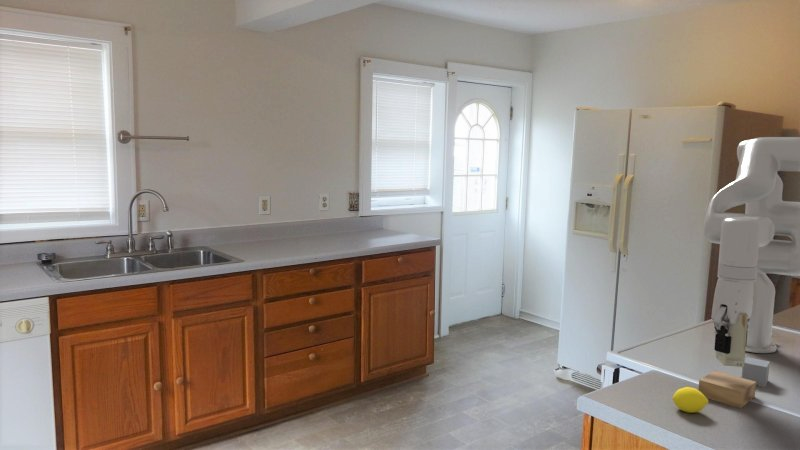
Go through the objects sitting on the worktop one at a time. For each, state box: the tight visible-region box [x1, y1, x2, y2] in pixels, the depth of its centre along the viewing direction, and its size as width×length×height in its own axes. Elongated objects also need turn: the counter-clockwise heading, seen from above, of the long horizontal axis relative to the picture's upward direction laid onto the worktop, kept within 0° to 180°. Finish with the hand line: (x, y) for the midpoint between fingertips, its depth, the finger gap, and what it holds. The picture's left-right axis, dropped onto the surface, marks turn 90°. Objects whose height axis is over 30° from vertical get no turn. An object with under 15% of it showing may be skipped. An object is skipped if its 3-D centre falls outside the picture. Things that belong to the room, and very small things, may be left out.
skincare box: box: [715, 313, 748, 368], centre depth 133 cm, size 6×4×12 cm
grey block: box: [741, 356, 771, 388], centre depth 143 cm, size 5×5×5 cm
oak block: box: [697, 370, 757, 409], centre depth 134 cm, size 9×9×4 cm
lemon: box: [672, 386, 709, 414], centre depth 126 cm, size 7×5×5 cm
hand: (730, 348), depth 133 cm, fingers closed on skincare box, 7 cm apart
